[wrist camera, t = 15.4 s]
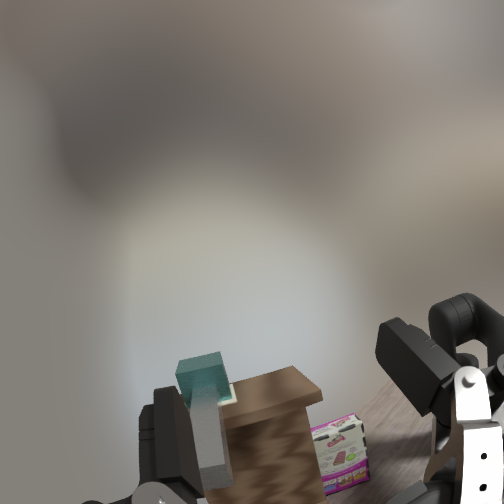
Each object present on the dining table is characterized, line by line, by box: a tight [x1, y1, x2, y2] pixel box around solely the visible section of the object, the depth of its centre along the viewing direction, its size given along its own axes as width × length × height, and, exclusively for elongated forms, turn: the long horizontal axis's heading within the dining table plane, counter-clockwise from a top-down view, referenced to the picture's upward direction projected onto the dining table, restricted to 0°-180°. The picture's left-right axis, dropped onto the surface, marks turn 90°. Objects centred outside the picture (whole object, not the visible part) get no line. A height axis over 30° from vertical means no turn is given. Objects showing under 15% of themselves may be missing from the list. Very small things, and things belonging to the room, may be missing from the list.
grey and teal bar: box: [175, 352, 234, 491], centre depth 27 cm, size 6×23×5 cm, turn 8°
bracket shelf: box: [180, 366, 329, 504], centre depth 33 cm, size 20×12×32 cm, turn 98°
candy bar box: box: [311, 413, 370, 496], centre depth 43 cm, size 11×5×16 cm, turn 93°
